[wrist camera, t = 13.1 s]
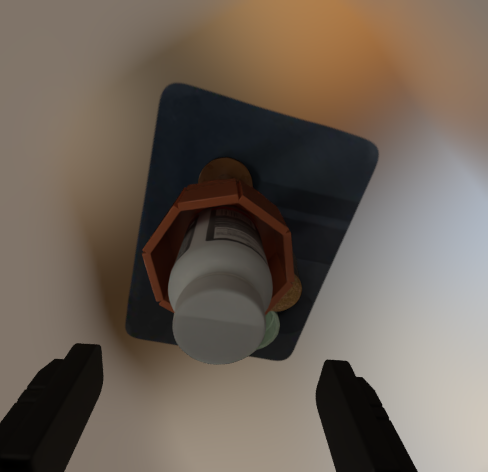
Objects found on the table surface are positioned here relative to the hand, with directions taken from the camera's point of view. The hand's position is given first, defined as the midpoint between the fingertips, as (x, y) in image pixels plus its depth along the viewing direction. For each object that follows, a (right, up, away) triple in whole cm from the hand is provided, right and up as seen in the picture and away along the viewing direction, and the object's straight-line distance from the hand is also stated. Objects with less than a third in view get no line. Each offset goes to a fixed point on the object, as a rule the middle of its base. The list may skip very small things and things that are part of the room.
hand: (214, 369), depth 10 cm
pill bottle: (0, +5, +11) cm, 12 cm away
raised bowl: (-1, +5, +11) cm, 12 cm away
